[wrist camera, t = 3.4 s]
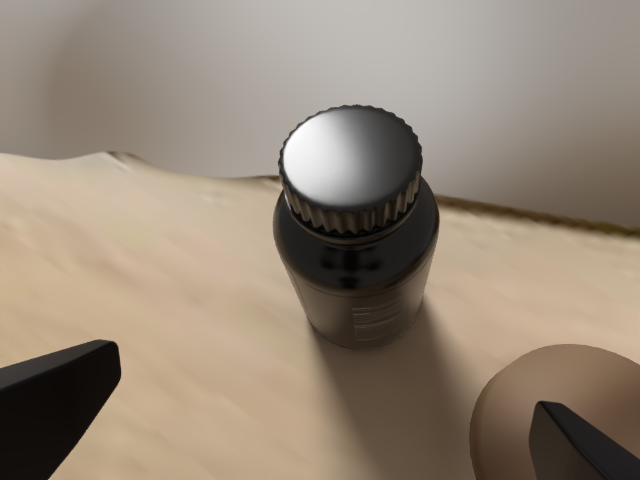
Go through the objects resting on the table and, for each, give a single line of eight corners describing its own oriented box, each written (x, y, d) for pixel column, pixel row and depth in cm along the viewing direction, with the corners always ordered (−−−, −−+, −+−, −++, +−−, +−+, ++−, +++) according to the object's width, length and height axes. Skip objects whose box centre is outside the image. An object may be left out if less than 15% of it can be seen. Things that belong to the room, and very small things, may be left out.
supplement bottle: (424, 250, 24) (465, 88, 14) (413, 363, 21) (456, 262, 11) (315, 236, 25) (278, 78, 15) (289, 340, 22) (219, 230, 12)
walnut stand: (741, 533, 16) (798, 544, 14) (544, 623, 15) (572, 648, 13) (593, 331, 21) (619, 316, 18) (435, 394, 20) (443, 386, 18)
